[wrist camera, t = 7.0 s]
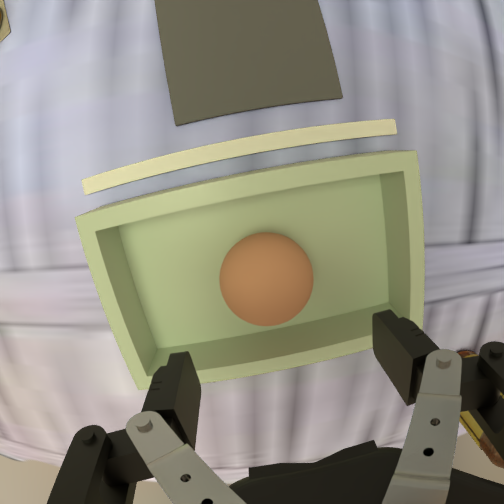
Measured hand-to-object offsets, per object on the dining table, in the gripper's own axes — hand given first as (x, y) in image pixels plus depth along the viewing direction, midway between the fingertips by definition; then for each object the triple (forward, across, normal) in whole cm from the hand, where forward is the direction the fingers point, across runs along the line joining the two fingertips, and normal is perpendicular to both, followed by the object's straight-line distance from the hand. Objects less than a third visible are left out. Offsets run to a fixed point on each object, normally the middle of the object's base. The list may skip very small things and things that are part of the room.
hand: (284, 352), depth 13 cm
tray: (+12, 0, 0) cm, 12 cm away
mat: (+12, -2, -17) cm, 21 cm away
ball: (+11, 0, 0) cm, 11 cm away
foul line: (+12, 0, -8) cm, 15 cm away
